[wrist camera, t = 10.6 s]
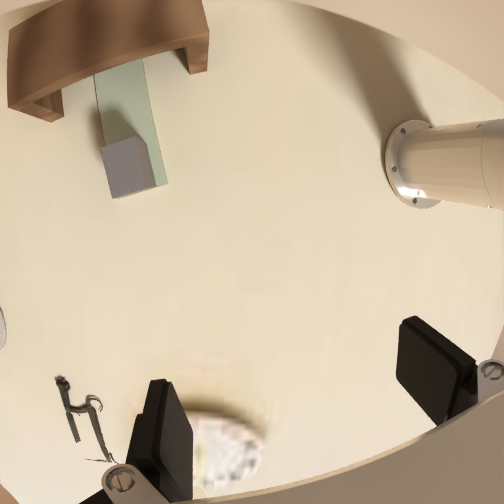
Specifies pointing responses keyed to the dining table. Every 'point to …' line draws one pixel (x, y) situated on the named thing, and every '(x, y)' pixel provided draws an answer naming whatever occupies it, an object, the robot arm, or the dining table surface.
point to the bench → (96, 45)
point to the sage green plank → (128, 131)
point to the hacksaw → (64, 389)
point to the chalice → (2, 330)
